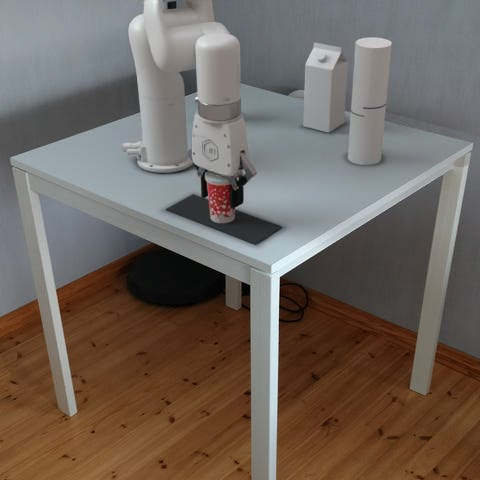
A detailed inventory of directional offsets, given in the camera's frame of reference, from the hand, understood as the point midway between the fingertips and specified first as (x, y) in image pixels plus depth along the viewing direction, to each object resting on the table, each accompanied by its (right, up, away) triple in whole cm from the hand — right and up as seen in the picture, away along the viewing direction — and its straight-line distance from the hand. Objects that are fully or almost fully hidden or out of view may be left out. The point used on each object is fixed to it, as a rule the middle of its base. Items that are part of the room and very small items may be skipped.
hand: (222, 199), depth 148 cm
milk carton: (+23, +22, +40) cm, 51 cm away
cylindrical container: (+30, +12, +24) cm, 41 cm away
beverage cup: (0, -3, +2) cm, 4 cm away
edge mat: (0, -3, +2) cm, 4 cm away
